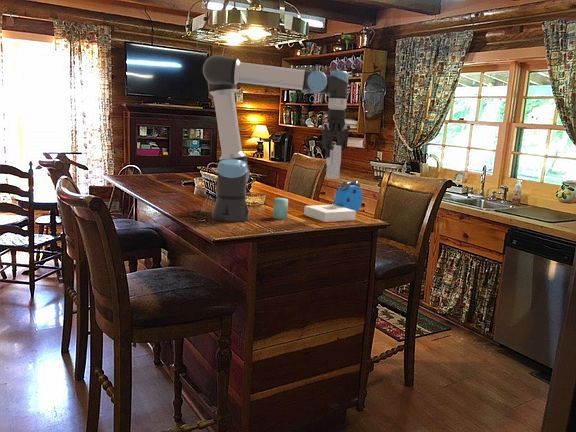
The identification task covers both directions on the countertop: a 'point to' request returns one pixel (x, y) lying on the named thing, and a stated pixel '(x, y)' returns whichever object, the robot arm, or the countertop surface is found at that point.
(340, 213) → the bore block
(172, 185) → the countertop surface
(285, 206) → the pale teal capsule
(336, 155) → the square bit
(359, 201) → the alarm clock
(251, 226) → the countertop surface
